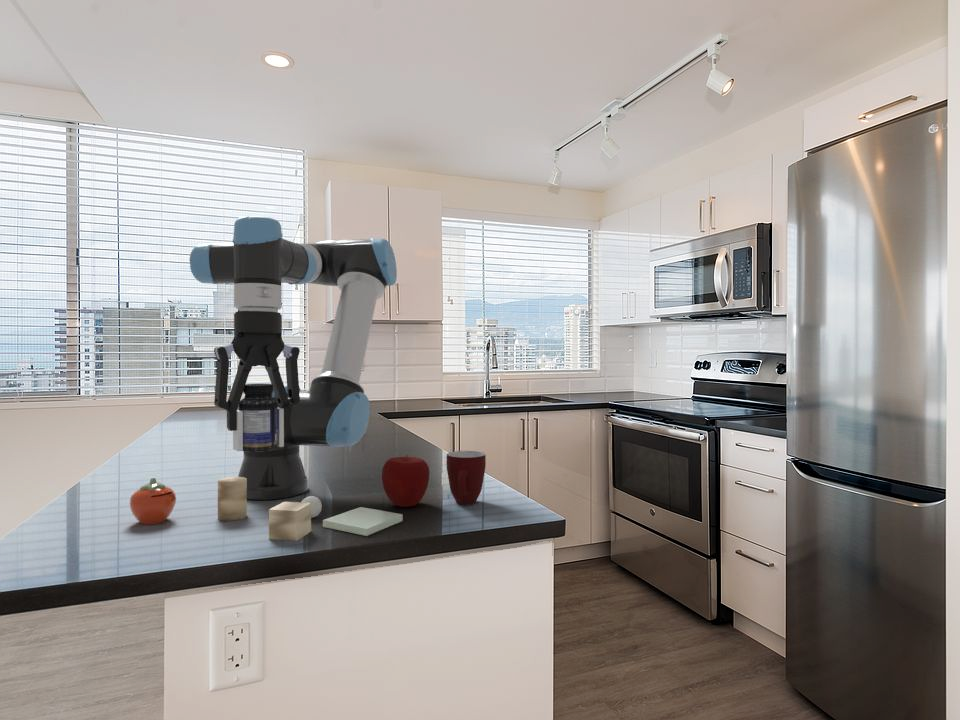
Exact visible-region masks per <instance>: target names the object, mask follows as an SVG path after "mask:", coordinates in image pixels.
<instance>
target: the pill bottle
mask: <svg viewBox="0 0 960 720" xmlns="http://www.w3.org/2000/svg"><path fill="white" fill-rule="evenodd" d="M272 392H273V384H271V383H246V384H245V387H244V391H243V394H244V397H245V398H244V397H243V398H241V400H240V403H239V406H238V410H239V411H243V451H242V452H243V453H244V452H264V451H269V450H273V449H275V448H276V447H277V443H278V425H277V423H278V422H277V420H278V419H277V415H278V414H277V406H278V403H277V401H276V399H274V398H272Z"/></svg>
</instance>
